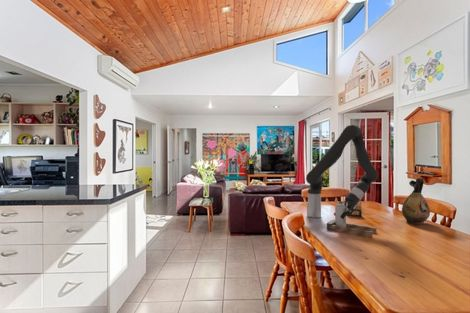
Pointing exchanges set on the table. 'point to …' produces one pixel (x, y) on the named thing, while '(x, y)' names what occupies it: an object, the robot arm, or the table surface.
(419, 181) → the ceramic jug
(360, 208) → the ammunition clip
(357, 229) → the channel
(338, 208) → the energy drink can
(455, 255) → the table surface
